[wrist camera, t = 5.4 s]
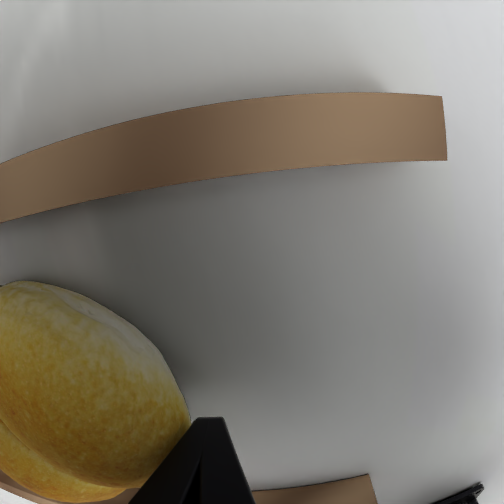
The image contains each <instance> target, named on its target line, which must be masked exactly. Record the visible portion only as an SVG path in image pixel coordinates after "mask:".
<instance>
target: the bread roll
mask: <svg viewBox="0 0 504 504" xmlns="http://www.w3.org/2000/svg"><path fill="white" fill-rule="evenodd" d="M190 426H191V419H190V415H189V412H188V409H187V406H186V403H185V400H184V397H183V395H182V393H181V392H180V390H179V387H178V385H177V383H176V381H175V378H174V376H173V374H172V372H171V371H170V369H169V367H168V365H167V363H166V361H165V360H164V358H163V356H162V354H161V352H160V351H159V349H158V348H157V347H156V346H155V345H154V344H153V343H152V342H151V341H150V340H149V339H148V338H147V337H146V336H144V335H143V334H142V333H141V332H140V331H139V330H138V329H137V328H136V327H135V326H133V325H132V324H131V323H129V322H128V321H126V320H125V319H123V318H122V317H120V316H119V315H117V314H116V313H114V312H112V311H111V310H109V309H108V308H106V307H104V306H102V305H100V304H99V303H97V302H95V301H94V300H92V299H90V298H88V297H86V296H83V295H81V294H79V293H77V292H74V291H70V290H66V289H63V288H60V287H57V286H54V285H50V284H45V283H39V282H33V281H16V282H10V283H8V284H5V285H3V286H1V285H0V469H1V470H2V471H3V472H4V473H5V474H7V475H8V476H9V477H10V478H12V479H13V480H14V481H16V482H17V483H18V484H20V485H22V486H23V487H25V488H27V489H29V490H31V491H33V492H34V493H36V494H38V495H41V496H43V497H46V498H50V499H54V500H57V501H61V502H70V503H85V502H95V501H102V500H107V499H111V498H114V497H115V496H117V495H118V494H120V493H122V492H123V491H125V490H126V489H130V488H139V487H142V486H143V484H144V483H145V482H146V481H147V480H148V478H149V477H150V476H151V475H152V473H153V472H154V471H155V470H156V469H157V467H158V466H159V465H160V464H161V462H162V461H163V460H164V459H165V457H166V456H167V455H168V454H169V453H170V451H171V450H172V449H173V447H174V446H175V445H176V444H177V442H178V441H179V440H180V439H181V437H182V436H183V435H184V434H185V432H186V431H187V430H188V428H189V427H190Z"/></svg>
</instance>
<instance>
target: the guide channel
mask: <svg viewBox="0 0 504 504" xmlns="http://www.w3.org/2000/svg"><path fill="white" fill-rule="evenodd" d="M401 161H447V144H446V130H445V119H444V110H443V101H442V96H432V95H419V94H402V93H317V94H299V95H285V96H274V97H263V98H254V99H246V100H238V101H230V102H223V103H216V104H210V105H204V106H198V107H192V108H187V109H181V110H176V111H171V112H166V113H161V114H157V115H152V116H148V117H143V118H139V119H135V120H131V121H127V122H123V123H119V124H115V125H111V126H108V127H104V128H101V129H97V130H94V131H90V132H87V133H84V134H80V135H77V136H74V137H71V138H68V139H65V140H62V141H59V142H56V143H53V144H50V145H47V146H44V147H42V148H39V149H36V150H34V151H31V152H28V153H26V154H23V155H21V156H18V157H16V158H13V159H11V160H8V161H6V162H3V163H1V164H0V223H2V222H6V221H9V220H13V219H17V218H20V217H24V216H28V215H32V214H36V213H40V212H44V211H48V210H52V209H56V208H60V207H64V206H68V205H73V204H77V203H82V202H86V201H91V200H95V199H100V198H105V197H110V196H115V195H120V194H125V193H130V192H135V191H141V190H146V189H152V188H157V187H163V186H169V185H175V184H181V183H187V182H194V181H200V180H207V179H214V178H221V177H228V176H236V175H243V174H251V173H260V172H268V171H277V170H287V169H297V168H308V167H319V166H331V165H345V164H360V163H378V162H401ZM0 488H2V489H4V490H6V491H8V492H11V493H13V494H15V495H18V496H20V497H22V498H25V499H27V500H30V501H32V502H35V503H38V504H128V502H129V501H130V500H131V499H132V497H133V496H134V495H135V494H136V493H137V491H138V490H139V489H140V488H130V489H126V490H125V491H123V492H122V493H120V494H118V495H117V496H115V497H114V498H111V499H107V500H102V501H95V502H85V503H70V502H61V501H57V500H54V499H50V498H46V497H43V496H41V495H38V494H36V493H34V492H33V491H31V490H29V489H27V488H25V487H23V486H22V485H20V484H18V483H17V482H16V481H14V480H13V479H12V478H10V477H9V476H8V475H7V474H5V473H4V472H3V471H2V470H1V469H0ZM252 495H253V497H254V500H255V502H256V504H378V503H377V500H376V496H375V493H374V490H373V486H372V483H371V480H370V476H369V474H368V475H364V476H359V477H355V478H350V479H345V480H340V481H335V482H330V483H324V484H318V485H311V486H304V487H296V488H288V489H278V490H267V491H252Z"/></svg>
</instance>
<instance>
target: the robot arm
mask: <svg viewBox="0 0 504 504" xmlns="http://www.w3.org/2000/svg"><path fill="white" fill-rule="evenodd" d="M483 490H484V486H483V485H482V484H480V485H478V486H476V487H474V488H472V489H469V490H467V491H465V492H463V493H461V494H459V495H456V496H454V497H452V498H449V499H447V500H445V501H442V502H440V503H437V504H479V503H478V501H477V499H476V498H477V497H478V496H479V495H480V493H481V492H482V491H483ZM128 504H256V502H255V500H254V497H253V495H252V492H251V490H250V487H249V485H248V482H247V480H246V477H245V475H244V472H243V470H242V467H241V464H240V462H239V459H238V456H237V454H236V451H235V448H234V446H233V443H232V440H231V437H230V435H229V432H228V429H227V426H226V423H225V420H224V418H223V417H198V418H197V419H195V421H194V422H193V423H192V425H191V426H190V427H189V428H188V430H187V431H186V432H185V434H184V435H183V436H182V437H181V439H180V440H179V441H178V442H177V444H176V445H175V446H174V447H173V449H172V450H171V451H170V453H169V454H168V455H167V456H166V457H165V459H164V460H163V461H162V462H161V464H160V465H159V466H158V467H157V469H156V470H155V471H154V472H153V473H152V475H151V476H150V477H149V478H148V480H147V481H146V482H145V483H144V484H143V486H142V487H141V488H140V489H139V490H138V491H137V493H136V494H135V495H134V496H133V497H132V499H131V500H130V501H129V502H128Z"/></svg>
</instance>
